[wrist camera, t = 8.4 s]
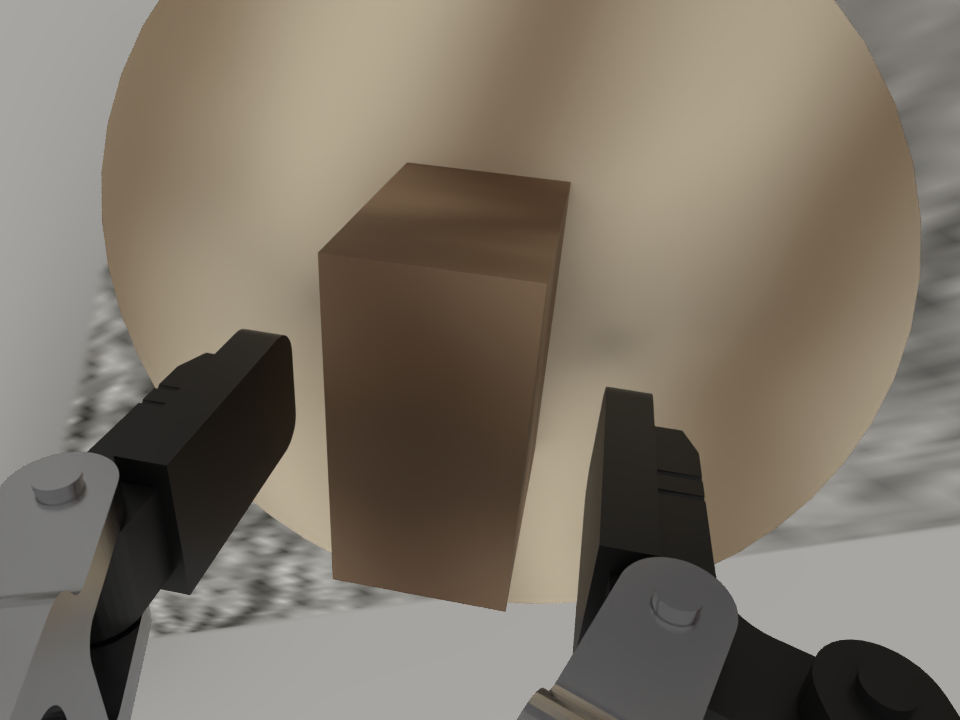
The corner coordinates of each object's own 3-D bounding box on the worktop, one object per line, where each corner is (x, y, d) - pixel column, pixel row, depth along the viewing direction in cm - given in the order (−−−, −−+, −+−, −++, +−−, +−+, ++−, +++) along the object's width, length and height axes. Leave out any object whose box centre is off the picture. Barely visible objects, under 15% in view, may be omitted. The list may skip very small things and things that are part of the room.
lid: (1062, -123, 11) (1421, -174, 6) (769, 618, 19) (818, 853, 14) (63, -190, 13) (-294, -271, 8) (187, 512, 21) (52, 687, 16)
